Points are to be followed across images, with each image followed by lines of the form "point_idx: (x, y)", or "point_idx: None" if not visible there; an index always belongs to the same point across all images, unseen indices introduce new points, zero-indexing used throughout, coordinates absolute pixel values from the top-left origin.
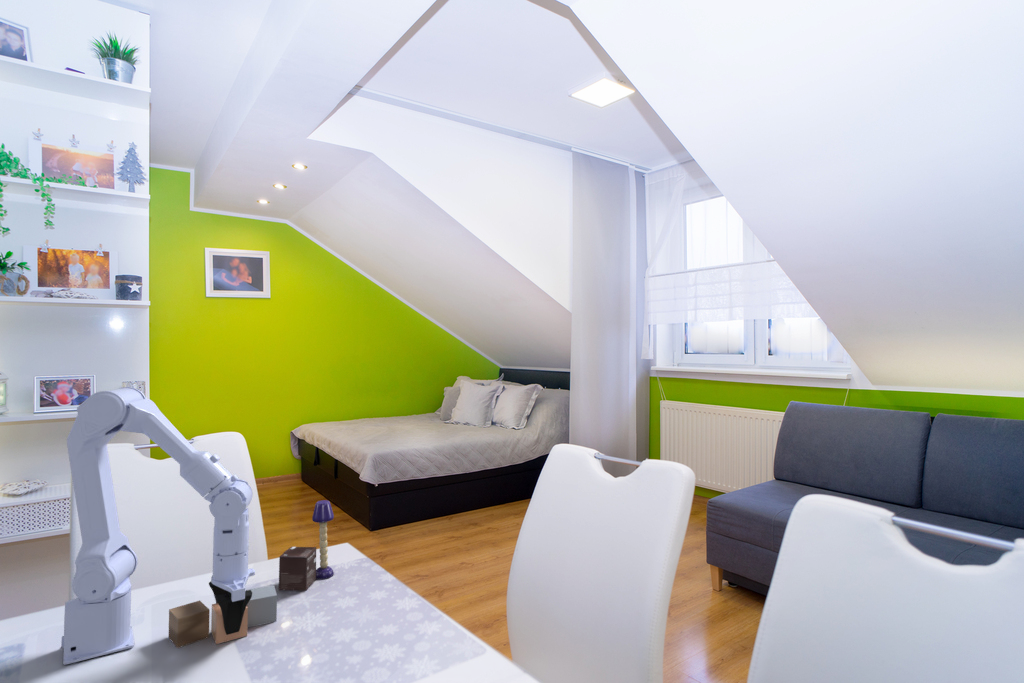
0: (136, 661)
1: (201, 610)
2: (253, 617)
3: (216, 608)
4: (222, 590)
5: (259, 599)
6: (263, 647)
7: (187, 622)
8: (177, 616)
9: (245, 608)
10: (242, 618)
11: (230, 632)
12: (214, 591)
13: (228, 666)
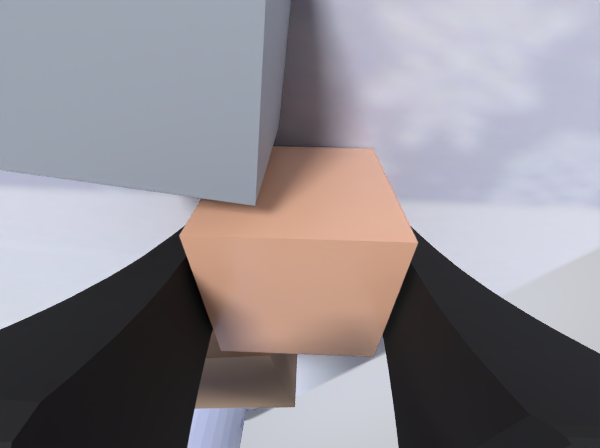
0: (309, 358)
1: (261, 370)
2: (276, 107)
3: (287, 347)
4: (175, 401)
5: (259, 95)
6: (554, 107)
7: (291, 369)
8: (270, 405)
9: (491, 291)
10: (424, 239)
11: None
12: (188, 427)
13: (536, 246)
